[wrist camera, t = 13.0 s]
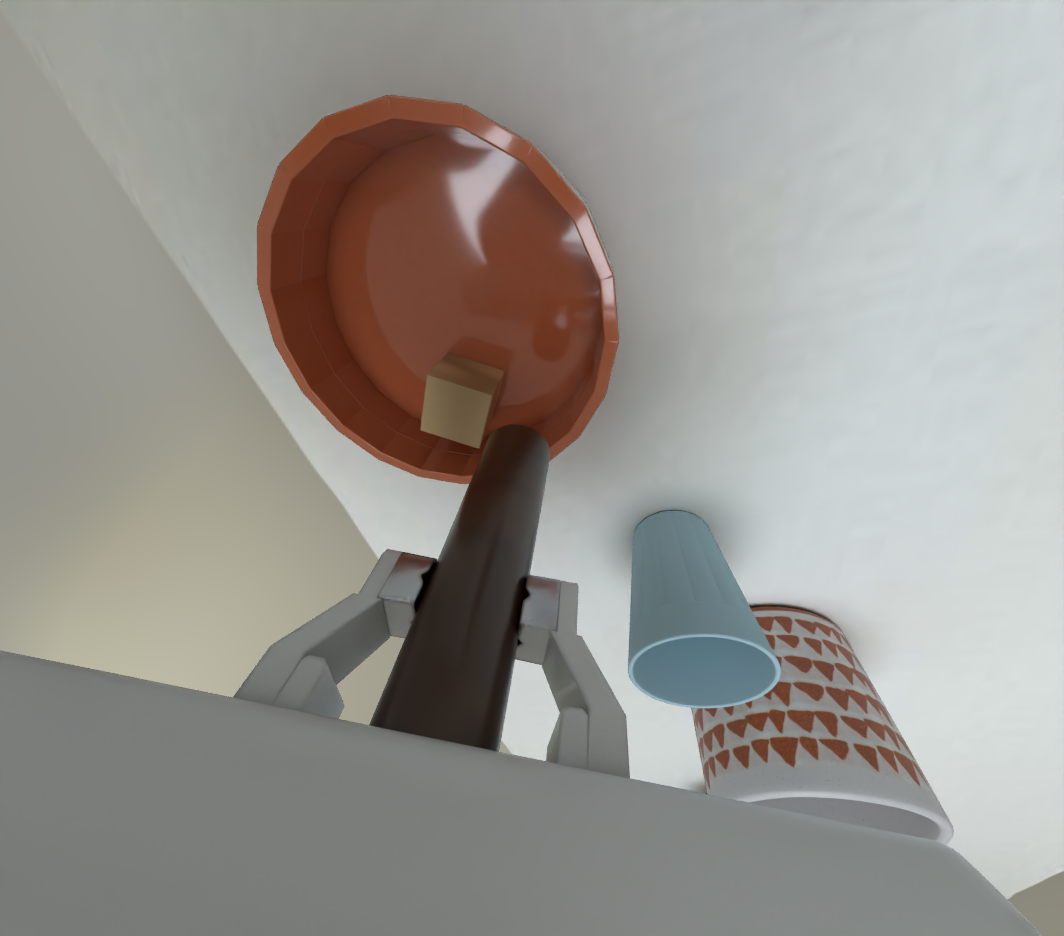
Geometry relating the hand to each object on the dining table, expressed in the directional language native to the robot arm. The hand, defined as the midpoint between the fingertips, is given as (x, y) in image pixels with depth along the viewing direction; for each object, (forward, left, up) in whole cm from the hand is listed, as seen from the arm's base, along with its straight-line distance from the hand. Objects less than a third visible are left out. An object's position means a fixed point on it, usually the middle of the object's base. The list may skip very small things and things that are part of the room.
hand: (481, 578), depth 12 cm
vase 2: (+23, -22, -15) cm, 36 cm away
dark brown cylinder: (0, 0, -7) cm, 7 cm away
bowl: (-5, +4, -15) cm, 16 cm away
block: (-4, -1, -14) cm, 15 cm away
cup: (+11, -10, -15) cm, 21 cm away
